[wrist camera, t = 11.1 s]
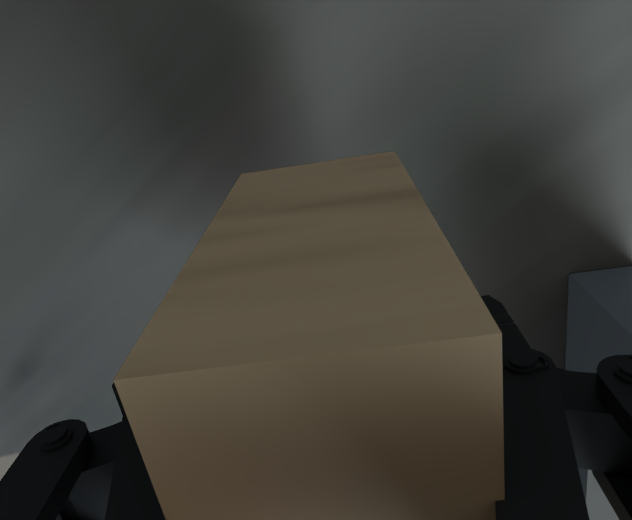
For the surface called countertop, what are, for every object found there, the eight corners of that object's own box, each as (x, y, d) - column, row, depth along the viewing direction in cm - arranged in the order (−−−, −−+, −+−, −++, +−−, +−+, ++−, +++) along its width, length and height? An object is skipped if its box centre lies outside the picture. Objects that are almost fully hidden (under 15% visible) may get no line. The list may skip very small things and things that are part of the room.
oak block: (414, 360, 20) (508, 705, 9) (284, 375, 20) (241, 723, 10) (394, 150, 16) (502, 333, 6) (241, 174, 17) (113, 380, 7)
